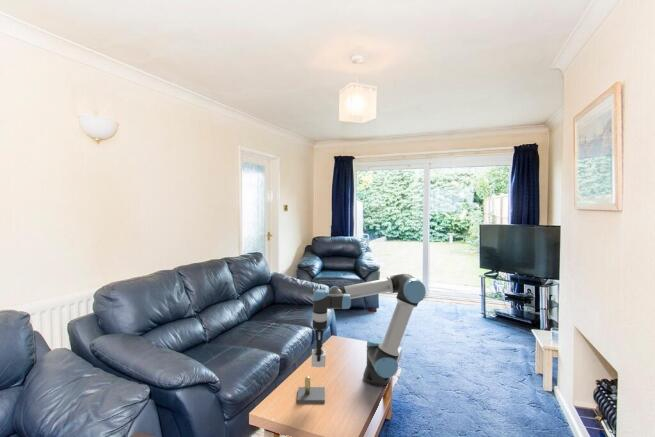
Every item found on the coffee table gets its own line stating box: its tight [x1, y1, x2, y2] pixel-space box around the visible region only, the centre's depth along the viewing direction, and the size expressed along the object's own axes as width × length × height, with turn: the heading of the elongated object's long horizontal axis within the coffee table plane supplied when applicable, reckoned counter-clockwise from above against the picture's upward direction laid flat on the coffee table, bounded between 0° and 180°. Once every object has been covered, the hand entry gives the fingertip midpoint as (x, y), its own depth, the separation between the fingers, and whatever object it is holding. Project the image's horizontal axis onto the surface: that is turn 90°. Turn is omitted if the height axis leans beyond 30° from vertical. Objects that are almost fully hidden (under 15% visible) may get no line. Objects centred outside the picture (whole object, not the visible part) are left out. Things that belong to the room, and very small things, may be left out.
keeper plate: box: [296, 386, 326, 404], centre depth 179 cm, size 14×12×2 cm
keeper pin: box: [304, 376, 311, 395], centre depth 178 cm, size 3×3×9 cm
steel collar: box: [311, 348, 327, 368], centre depth 177 cm, size 7×7×6 cm
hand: (318, 363), depth 178 cm, fingers closed on steel collar, 7 cm apart
